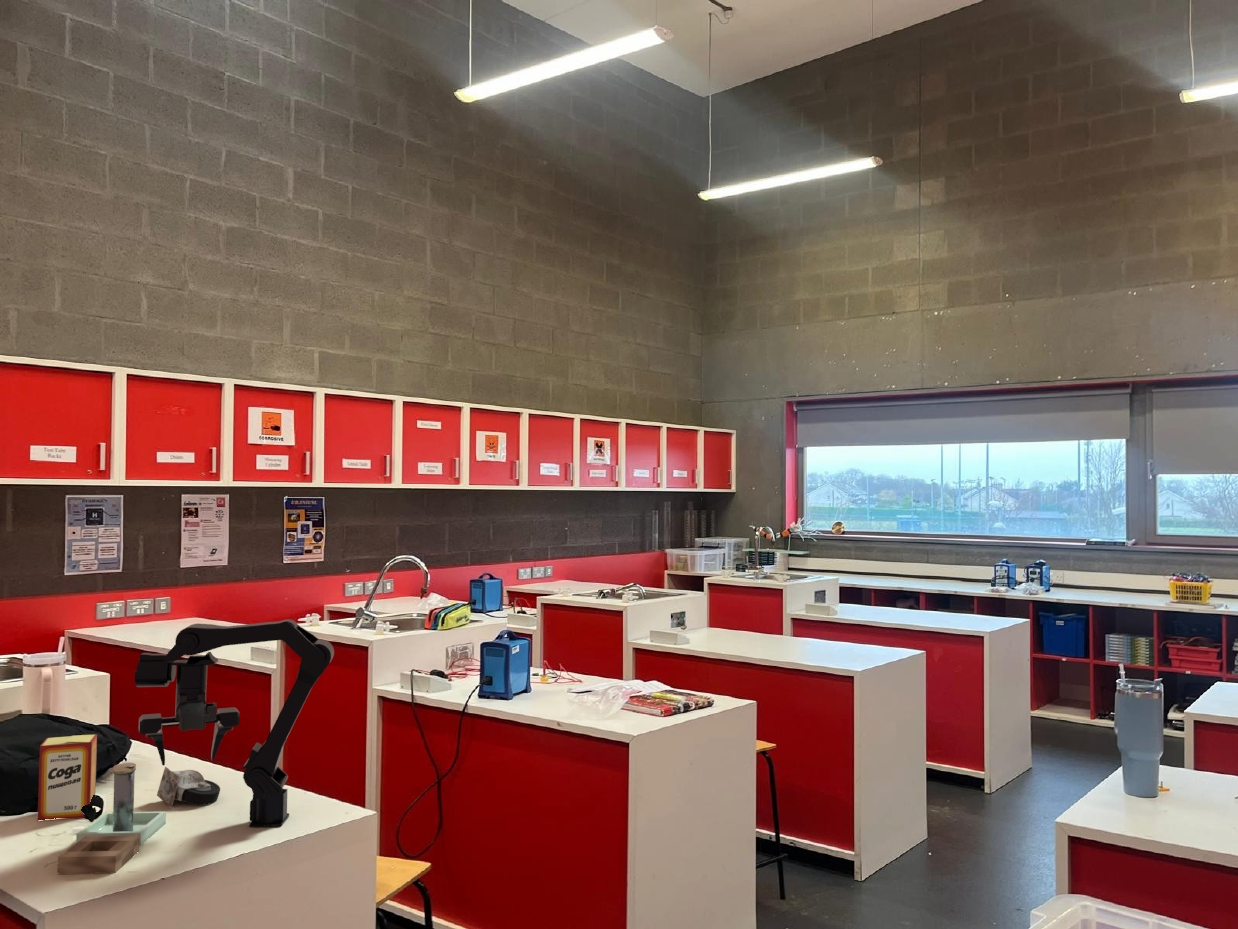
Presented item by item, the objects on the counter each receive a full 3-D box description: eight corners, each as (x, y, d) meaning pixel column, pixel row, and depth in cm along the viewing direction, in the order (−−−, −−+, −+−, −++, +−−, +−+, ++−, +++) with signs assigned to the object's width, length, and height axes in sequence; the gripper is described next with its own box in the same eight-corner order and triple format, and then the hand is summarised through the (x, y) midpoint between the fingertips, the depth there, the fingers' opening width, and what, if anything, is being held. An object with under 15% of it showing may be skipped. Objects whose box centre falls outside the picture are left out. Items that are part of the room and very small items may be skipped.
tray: (165, 823, 192) (165, 811, 192) (140, 845, 180) (140, 832, 180) (105, 824, 191) (105, 812, 191) (76, 847, 179) (76, 833, 179)
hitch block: (139, 851, 177) (139, 835, 177) (115, 873, 167) (115, 856, 167) (84, 852, 176) (85, 836, 176) (57, 874, 166) (57, 857, 166)
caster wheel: (221, 812, 207) (179, 817, 198) (196, 791, 213) (154, 795, 205) (230, 783, 207) (188, 787, 199) (204, 763, 213) (162, 766, 205)
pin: (137, 828, 187) (139, 762, 188) (128, 835, 183) (130, 768, 184) (117, 828, 187) (118, 763, 187) (107, 835, 183) (109, 769, 184)
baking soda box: (37, 821, 192) (40, 744, 193) (44, 811, 198) (47, 736, 199) (89, 816, 195) (91, 740, 196) (94, 806, 202) (97, 732, 202)
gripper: (141, 697, 180) (138, 779, 179) (244, 690, 189) (241, 767, 188) (140, 686, 189) (136, 764, 189) (238, 680, 198) (235, 753, 198)
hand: (188, 762), depth 191 cm, fingers open, 9 cm apart
